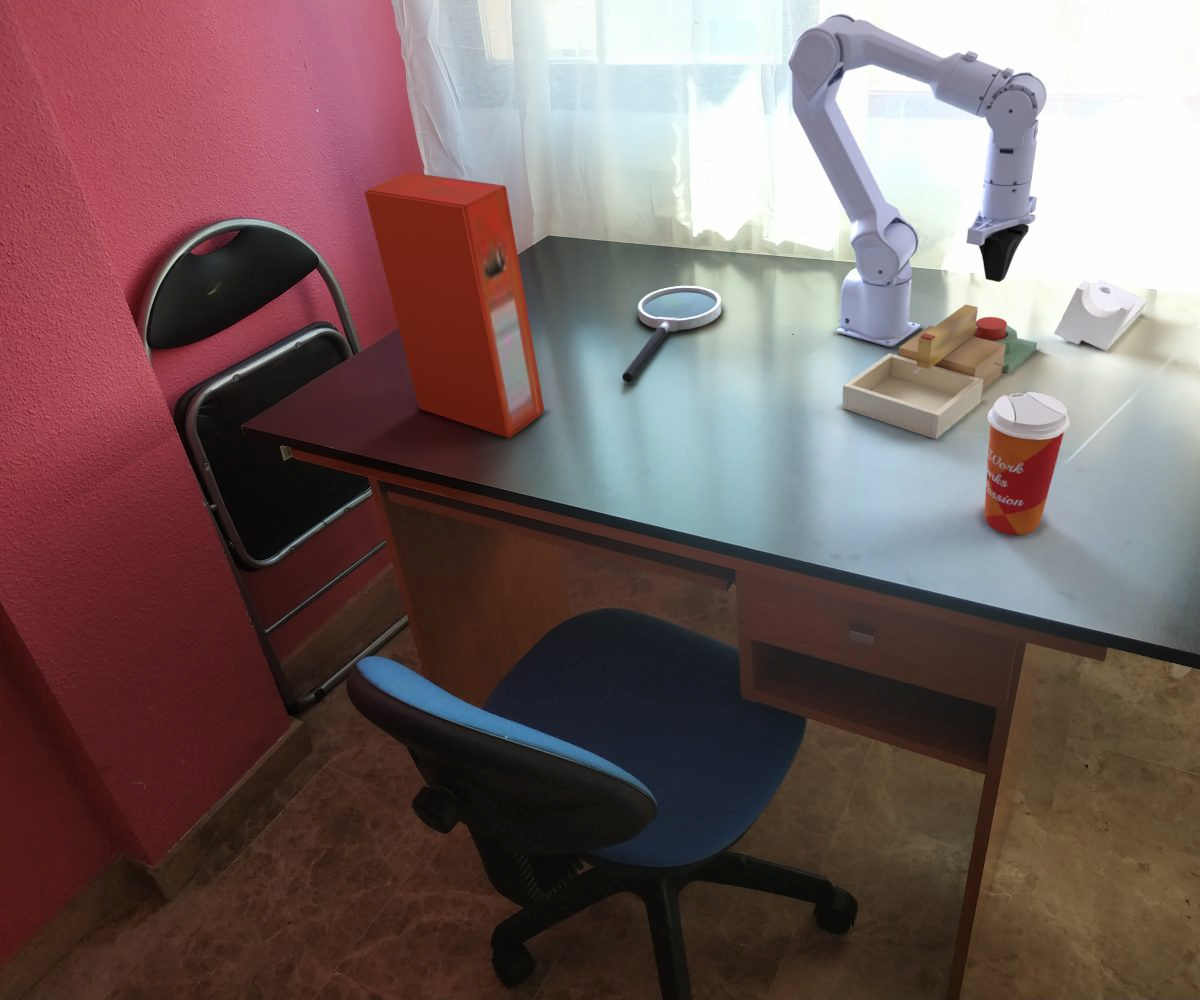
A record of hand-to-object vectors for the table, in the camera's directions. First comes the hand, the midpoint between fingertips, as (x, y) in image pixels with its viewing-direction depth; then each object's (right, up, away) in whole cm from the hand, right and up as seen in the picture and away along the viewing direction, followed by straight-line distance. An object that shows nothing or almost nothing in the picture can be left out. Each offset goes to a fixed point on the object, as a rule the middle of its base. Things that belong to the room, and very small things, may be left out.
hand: (995, 279), depth 133 cm
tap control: (+1, -9, +4) cm, 10 cm away
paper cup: (-9, -32, -27) cm, 43 cm away
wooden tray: (-13, -18, -5) cm, 22 cm away
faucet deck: (-7, -14, -1) cm, 16 cm away
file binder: (-71, -18, +6) cm, 73 cm away
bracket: (+18, -6, +7) cm, 20 cm away
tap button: (0, -7, +3) cm, 8 cm away
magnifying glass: (-44, -5, +20) cm, 48 cm away
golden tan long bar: (-8, -10, -3) cm, 13 cm away
